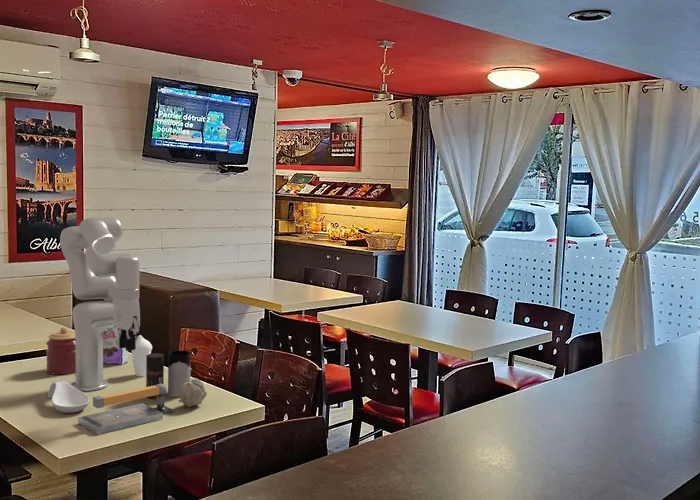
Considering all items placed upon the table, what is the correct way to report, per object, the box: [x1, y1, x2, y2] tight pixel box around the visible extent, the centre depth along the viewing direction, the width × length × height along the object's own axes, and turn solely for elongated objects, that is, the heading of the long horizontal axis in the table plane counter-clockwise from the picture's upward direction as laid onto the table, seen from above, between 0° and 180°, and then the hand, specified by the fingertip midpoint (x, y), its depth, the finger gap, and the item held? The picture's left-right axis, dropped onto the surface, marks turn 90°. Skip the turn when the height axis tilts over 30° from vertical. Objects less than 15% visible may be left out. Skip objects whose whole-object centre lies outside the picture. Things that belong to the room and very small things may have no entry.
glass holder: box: [166, 350, 191, 398], centre depth 249 cm, size 9×14×15 cm, turn 12°
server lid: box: [77, 402, 164, 436], centre depth 216 cm, size 13×22×2 cm, turn 136°
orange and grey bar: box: [92, 383, 167, 409], centre depth 218 cm, size 4×24×3 cm, turn 136°
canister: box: [45, 326, 76, 375], centre depth 271 cm, size 13×13×18 cm
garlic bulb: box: [177, 377, 208, 408], centre depth 232 cm, size 9×8×10 cm
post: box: [153, 394, 174, 415], centre depth 226 cm, size 6×6×6 cm
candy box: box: [96, 325, 129, 366], centre depth 286 cm, size 14×6×16 cm, turn 80°
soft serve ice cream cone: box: [131, 334, 153, 378], centre depth 268 cm, size 8×8×16 cm
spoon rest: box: [47, 380, 91, 414], centre depth 230 cm, size 24×12×7 cm, turn 41°
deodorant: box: [145, 352, 165, 400], centre depth 242 cm, size 6×6×15 cm
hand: (127, 348), depth 224 cm, fingers open, 3 cm apart
